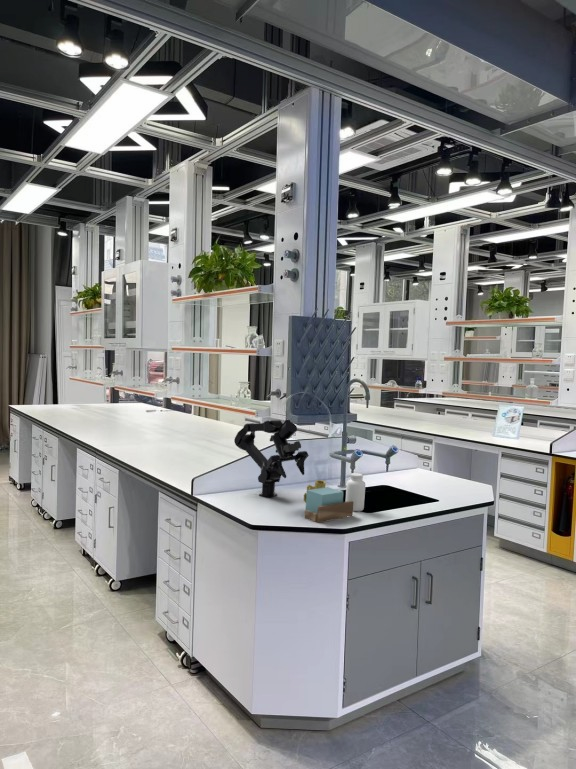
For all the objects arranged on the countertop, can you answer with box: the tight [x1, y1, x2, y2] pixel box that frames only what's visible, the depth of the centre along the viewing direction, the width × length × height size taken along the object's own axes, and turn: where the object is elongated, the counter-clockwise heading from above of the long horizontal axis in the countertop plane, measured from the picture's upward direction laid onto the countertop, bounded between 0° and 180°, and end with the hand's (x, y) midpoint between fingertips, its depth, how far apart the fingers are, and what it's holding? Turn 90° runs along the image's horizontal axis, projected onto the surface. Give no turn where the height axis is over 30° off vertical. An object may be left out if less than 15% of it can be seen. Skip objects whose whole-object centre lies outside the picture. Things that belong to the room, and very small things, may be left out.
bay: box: [303, 501, 354, 524], centre depth 227 cm, size 8×20×6 cm, turn 131°
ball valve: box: [303, 479, 327, 504], centre depth 251 cm, size 13×10×10 cm
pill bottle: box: [344, 472, 366, 512], centre depth 242 cm, size 8×8×15 cm
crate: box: [304, 486, 344, 513], centre depth 229 cm, size 9×12×10 cm
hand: (294, 476), depth 242 cm, fingers open, 9 cm apart
